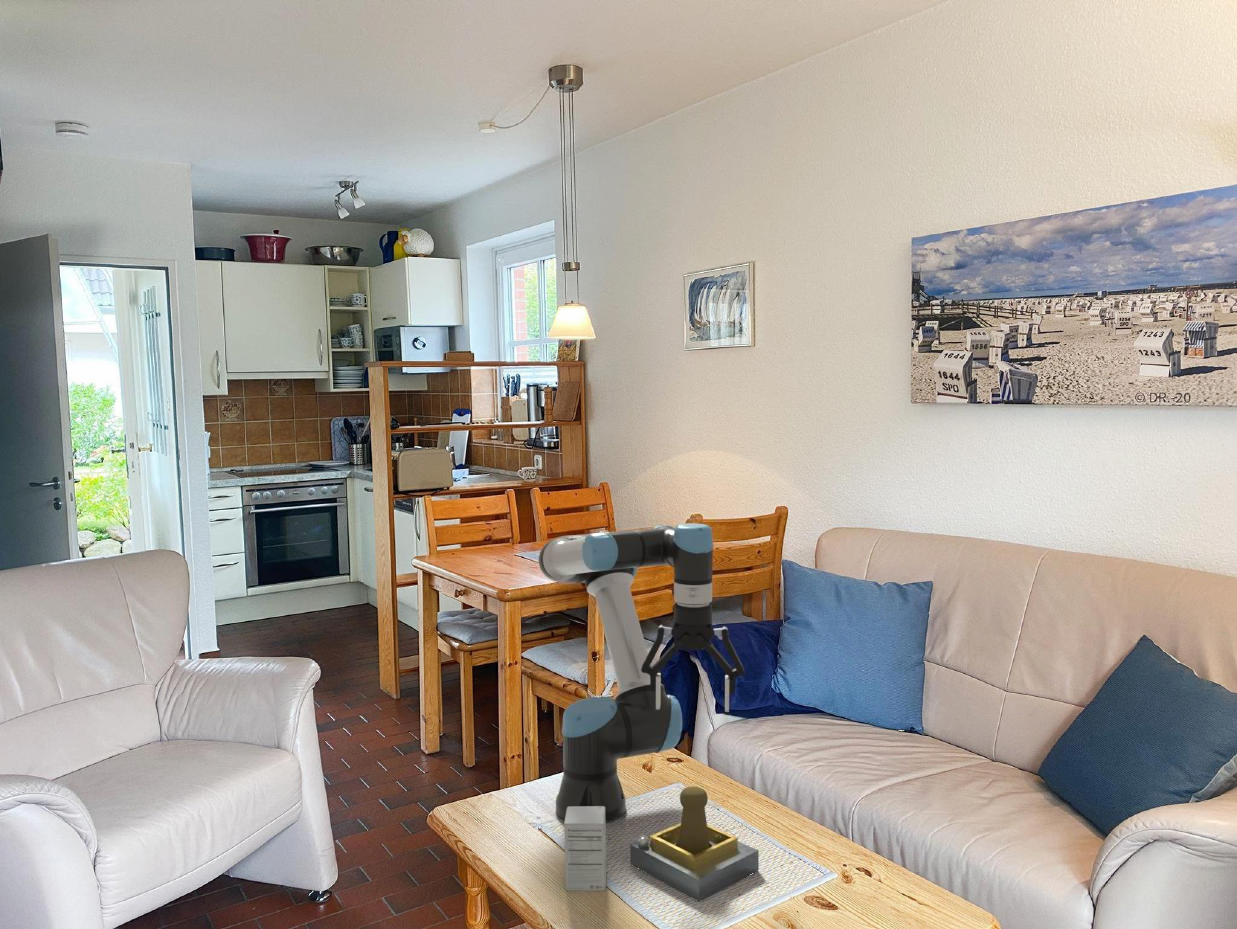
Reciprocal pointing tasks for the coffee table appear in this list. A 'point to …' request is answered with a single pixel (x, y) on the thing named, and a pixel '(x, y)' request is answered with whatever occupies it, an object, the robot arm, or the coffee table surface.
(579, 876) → the supplement box
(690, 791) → the olive brown pawn
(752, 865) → the grey base with frame
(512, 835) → the coffee table surface
